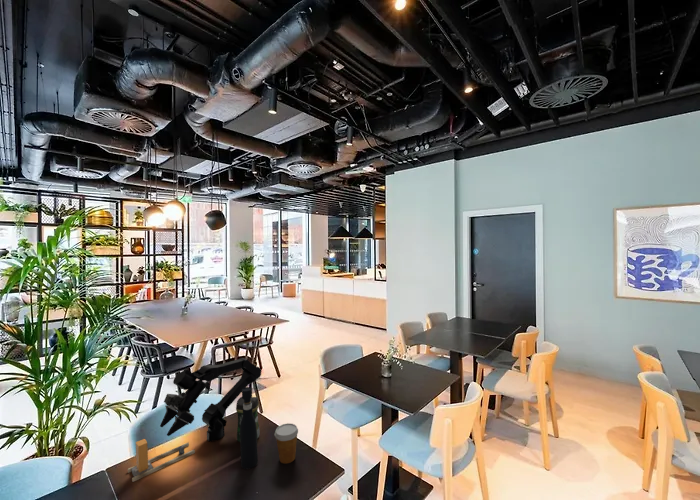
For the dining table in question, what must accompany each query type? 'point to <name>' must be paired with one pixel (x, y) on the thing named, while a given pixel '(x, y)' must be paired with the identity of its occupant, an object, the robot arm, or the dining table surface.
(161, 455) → the rail board
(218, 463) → the dining table surface
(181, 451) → the keeper hook
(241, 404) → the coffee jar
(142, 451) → the tan slider block
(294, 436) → the disposable coffee cup
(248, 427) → the wine bottle
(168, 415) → the robot arm
